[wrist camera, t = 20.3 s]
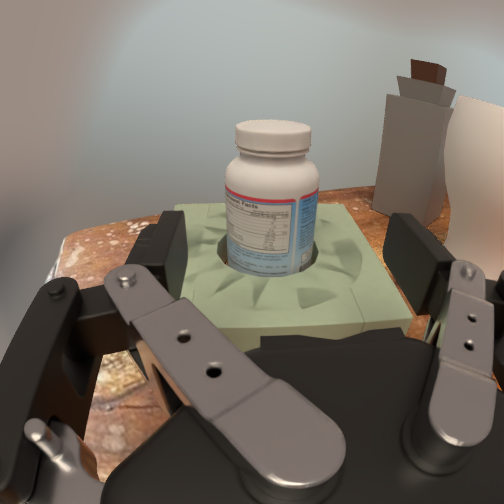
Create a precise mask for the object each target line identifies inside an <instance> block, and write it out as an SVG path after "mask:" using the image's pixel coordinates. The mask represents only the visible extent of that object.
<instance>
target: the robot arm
mask: <svg viewBox="0 0 504 504" xmlns="http://www.w3.org/2000/svg"><path fill="white" fill-rule="evenodd" d="M383 259H384V262H385V263H386V265H387V267H388V268H389V270H390V271H391V273H392V275H393V276H394V278H395V279H396V281H397V283H398V284H399V286H400V288H401V289H402V291H403V293H404V294H405V296H406V298H407V299H408V301H409V303H410V304H411V306H412V308H413V310H414V311H415V313H416V315H417V316H419V315H428V314H430V315H431V316H430V318H429V320H428V323H427V326H426V329H425V333H424V336H423V340H422V341H421V340H418V339H414V338H409V337H405V335H404V333H403V331H402V329H401V327H395V328H385V329H374V330H368V331H365V332H362V333H359V334H356V335H352V336H349V337H346V338H343V339H338V340H334V339H326V338H318V337H311V336H303V335H279V336H260V347H259V348H255V349H252V350H249V351H246V352H242V351H241V350H240V349H239V348H238V347H237V346H236V345H235V344H233V343H232V342H231V341H230V340H229V339H228V338H227V337H226V336H225V335H224V334H223V333H222V332H221V331H220V330H219V329H218V328H217V327H216V326H215V325H214V324H213V323H212V322H211V321H210V320H209V319H208V318H207V317H206V316H205V315H204V314H203V313H202V312H201V311H200V310H199V309H198V308H197V307H196V306H195V305H194V304H193V303H192V302H191V301H190V300H189V299H187V298H186V297H182V298H180V296H181V292H182V287H183V282H184V277H185V273H186V268H187V263H188V245H187V235H186V224H185V214H184V211H183V210H178V211H163V213H162V215H161V217H160V219H159V221H158V224H149V225H148V226H147V227H145V228H144V229H143V230H142V231H141V232H140V234H139V236H138V238H137V240H136V242H135V244H134V247H133V248H132V250H131V252H130V254H129V256H128V258H127V260H126V262H125V264H124V265H122V266H119V267H117V268H115V269H113V270H111V271H110V272H109V273H108V274H107V275H106V276H105V278H104V284H103V285H100V286H96V287H91V288H86V289H81V290H80V289H79V286H78V283H77V281H76V280H74V279H73V278H69V277H60V278H56V279H53V280H51V281H49V282H47V283H46V284H45V285H43V286H42V287H41V288H40V290H39V291H38V293H37V295H36V296H35V298H34V300H33V302H32V304H31V305H30V307H29V309H28V310H27V312H26V314H25V316H24V318H23V320H22V321H21V323H20V325H19V327H18V329H17V331H16V333H15V335H14V337H13V339H12V341H11V343H10V345H9V347H8V349H7V351H6V353H5V355H4V357H3V360H2V362H1V364H0V504H504V270H503V271H502V272H501V274H500V276H499V278H498V280H497V281H495V280H490V279H485V274H484V272H483V271H482V270H481V269H480V268H479V267H478V266H477V265H475V264H473V263H471V262H469V261H466V260H456V259H455V257H454V256H453V255H452V254H451V253H450V252H449V251H448V250H447V248H446V247H445V246H443V245H442V243H441V242H440V241H439V240H437V238H436V236H435V235H434V234H433V233H432V232H431V231H429V230H428V229H426V228H425V227H423V225H422V224H421V223H420V222H419V221H418V220H417V219H416V218H415V217H414V216H413V215H412V214H410V213H392V215H391V216H390V220H389V224H388V228H387V233H386V237H385V241H384V245H383ZM121 351H127V353H128V355H129V356H130V358H131V359H132V361H133V363H134V364H135V366H136V367H137V369H138V371H139V372H140V374H141V375H142V377H143V378H144V380H145V381H146V383H147V384H148V386H149V387H150V389H151V391H152V392H153V394H154V396H155V397H156V399H157V401H158V403H159V405H160V407H161V408H162V410H163V412H164V413H165V415H166V416H167V417H168V420H167V421H166V422H165V423H163V424H162V425H161V426H160V427H159V428H158V429H157V430H156V431H155V432H154V433H153V434H152V435H151V436H150V437H149V438H148V439H146V440H145V441H144V442H143V443H142V444H141V445H140V446H139V447H138V448H137V449H136V450H135V451H133V452H132V453H131V454H130V455H129V456H128V457H127V458H126V459H125V460H124V461H122V462H121V463H120V464H119V465H118V466H117V467H116V468H115V469H114V470H113V471H112V473H111V474H110V475H109V477H108V478H107V480H106V482H105V483H103V482H100V480H99V477H98V474H97V462H96V458H95V455H94V453H93V452H92V451H91V449H90V448H89V447H88V446H87V445H86V444H85V443H84V442H83V441H84V436H85V430H86V425H87V421H88V416H89V411H90V407H91V402H92V398H93V393H94V389H95V385H96V381H97V377H98V373H99V369H100V365H101V361H102V358H103V355H106V354H111V353H116V352H121ZM492 371H493V373H494V375H495V377H496V379H497V381H498V383H499V385H500V387H501V389H502V391H501V390H499V389H498V388H497V382H496V380H495V379H493V378H492Z"/></svg>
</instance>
